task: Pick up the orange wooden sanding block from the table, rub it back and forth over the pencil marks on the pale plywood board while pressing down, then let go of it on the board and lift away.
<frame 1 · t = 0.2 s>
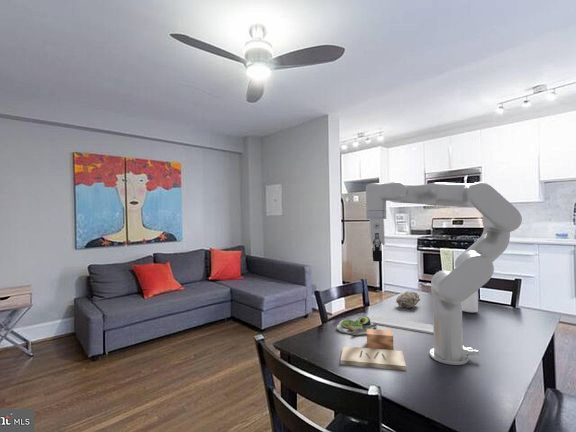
hand: (377, 259, 120), 36 cm above the table, tool pointing down, fingers open, 9 cm apart
sanding block: (379, 347, 124), on the table
salad plate: (356, 329, 145), on the table
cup: (469, 312, 163), on the table
baseboard: (401, 326, 148), on the table
plywood board: (372, 359, 113), on the table
pumice stone: (409, 307, 176), on the table
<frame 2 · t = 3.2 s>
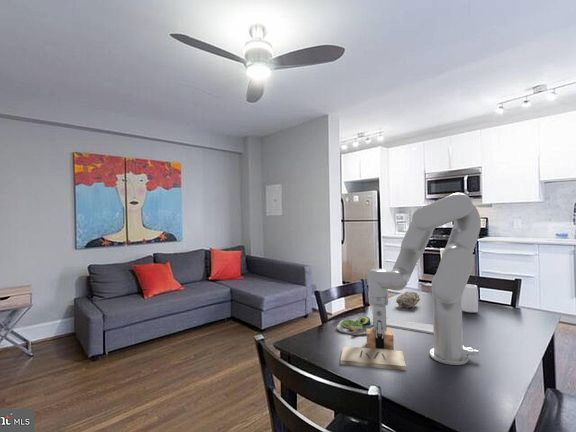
hand: (379, 344, 124), 1 cm above the table, tool pointing down, fingers closed on sanding block, 6 cm apart
sanding block: (379, 346, 124), on the table, touching gripper
everything else where it was.
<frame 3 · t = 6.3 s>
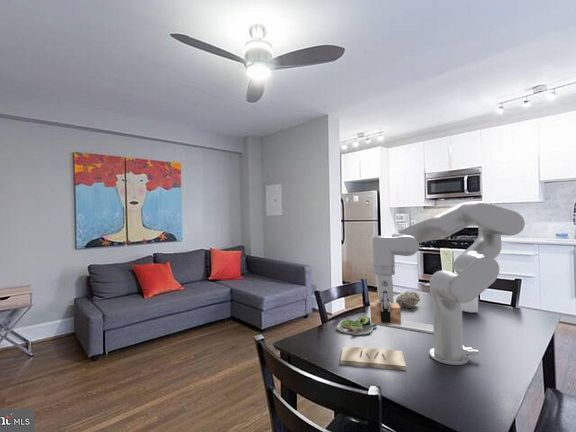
hand: (385, 318, 112), 15 cm above the table, tool pointing down, fingers closed on sanding block, 6 cm apart
sanding block: (385, 321, 112), point 14 cm above the table, touching gripper
everything else where it was.
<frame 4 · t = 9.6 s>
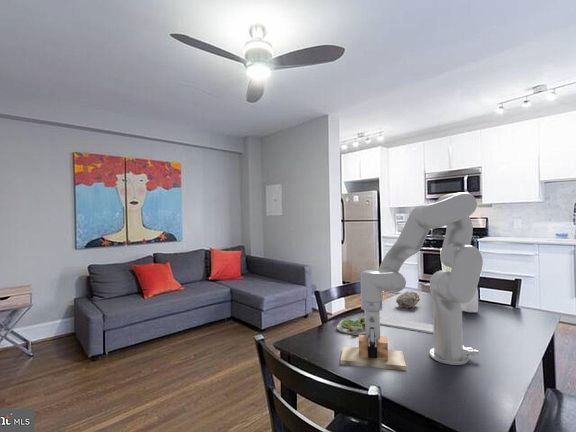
hand: (372, 353, 113), 2 cm above the table, tool pointing down, fingers closed on sanding block, 6 cm apart
sanding block: (373, 355, 113), point 2 cm above the table, touching gripper
everything else where it was.
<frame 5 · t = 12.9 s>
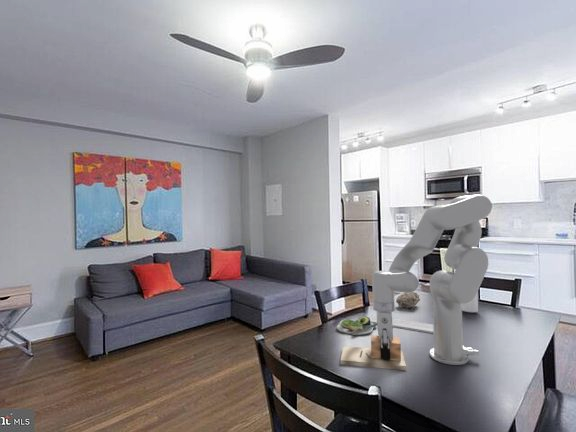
hand: (384, 354, 112), 2 cm above the table, tool pointing down, fingers closed on sanding block, 6 cm apart
sanding block: (385, 355, 112), point 2 cm above the table, touching gripper
everything else where it was.
when the fingers open (2 cm above the table, at t = 16.0 s): sanding block stays where it is, resting on plywood board.
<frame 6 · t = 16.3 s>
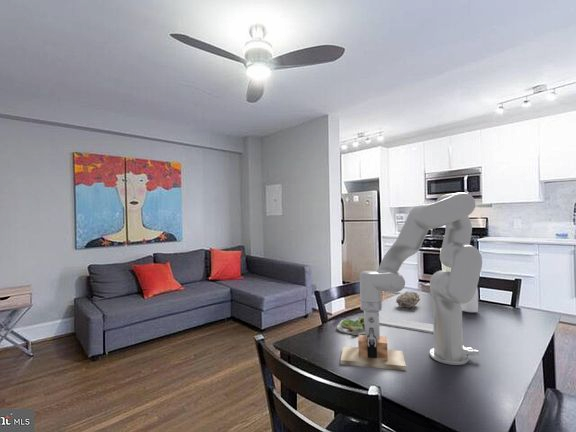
hand: (372, 351, 113), 3 cm above the table, tool pointing down, fingers open, 9 cm apart
sanding block: (373, 355, 113), point 2 cm above the table, touching plywood board
everything else where it was.
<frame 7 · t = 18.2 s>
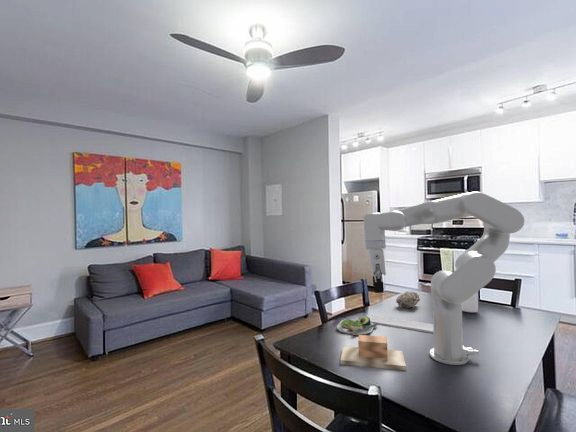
hand: (378, 289, 118), 24 cm above the table, tool pointing down, fingers open, 9 cm apart
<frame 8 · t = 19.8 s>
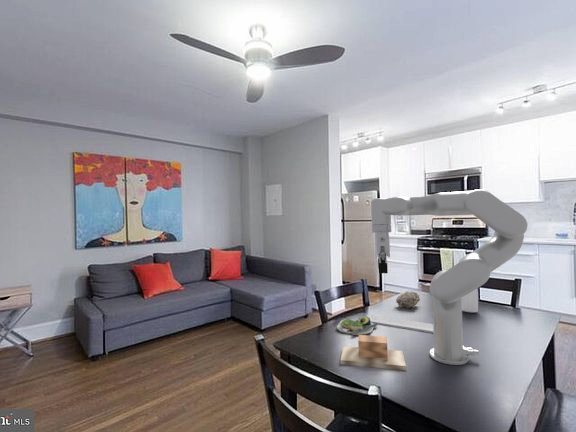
hand: (382, 270, 125), 30 cm above the table, tool pointing down, fingers open, 9 cm apart
at the end: sanding block inside the target area on the plywood board (0.3 cm from its centre), point 1.5 cm above the plywood board's base; sanding block tilted 0°; the gripper is holding nothing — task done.
